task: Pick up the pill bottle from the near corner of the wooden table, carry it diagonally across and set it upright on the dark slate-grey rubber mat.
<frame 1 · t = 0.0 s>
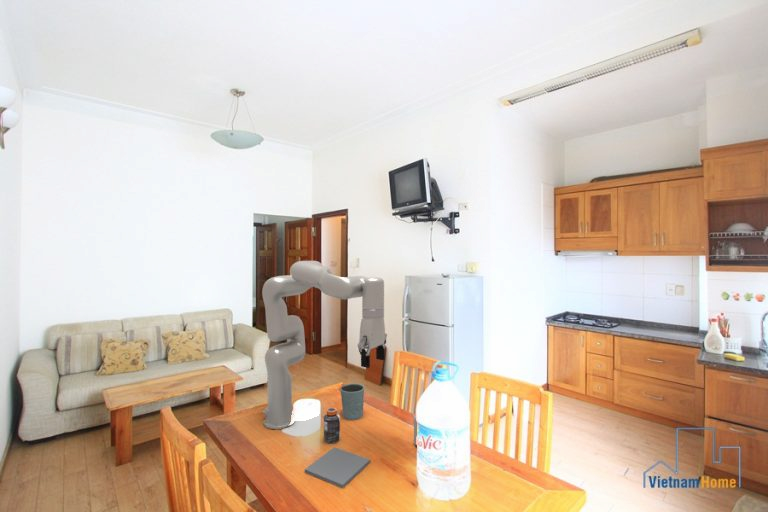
hand: (373, 363, 123), 31 cm above the table, fingers open, 9 cm apart
can: (424, 445, 128), on the table
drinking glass: (352, 415, 152), on the table
slate mat: (338, 467, 115), on the table
pill bottle: (332, 440, 132), on the table
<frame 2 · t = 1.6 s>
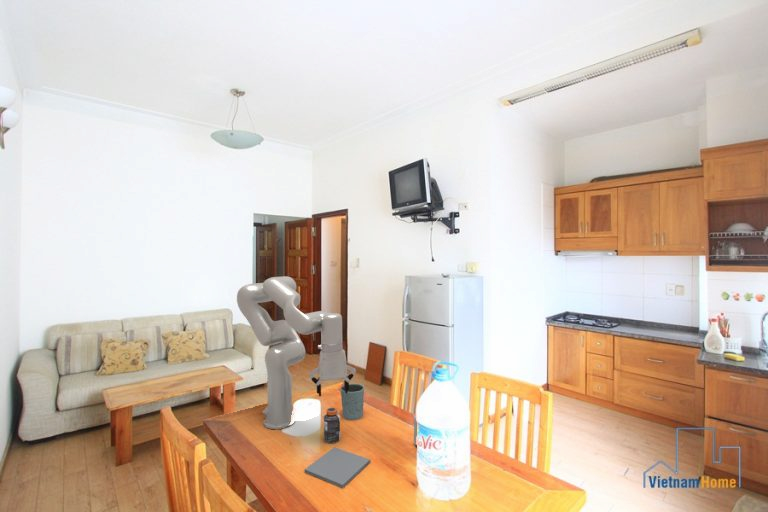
hand: (332, 393, 131), 17 cm above the table, fingers open, 9 cm apart
nothing on the table moved.
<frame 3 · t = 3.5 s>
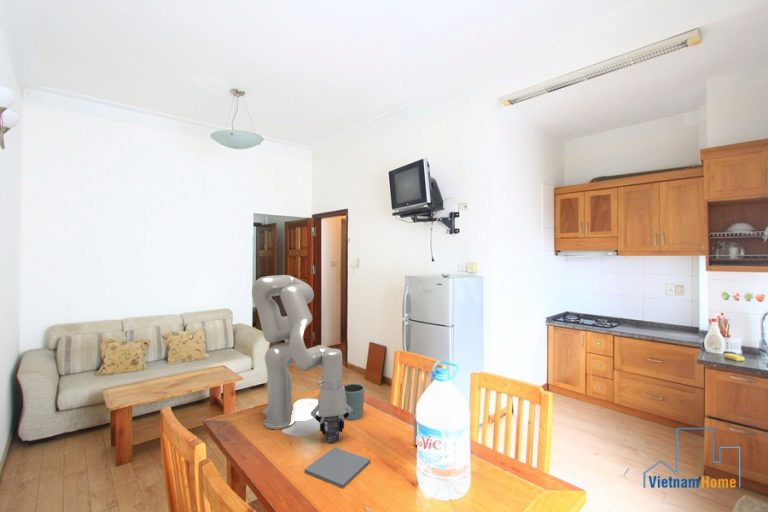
hand: (332, 431, 132), 3 cm above the table, fingers closed on pill bottle, 6 cm apart
pill bottle: (332, 440, 132), on the table, touching gripper
everything else where it was.
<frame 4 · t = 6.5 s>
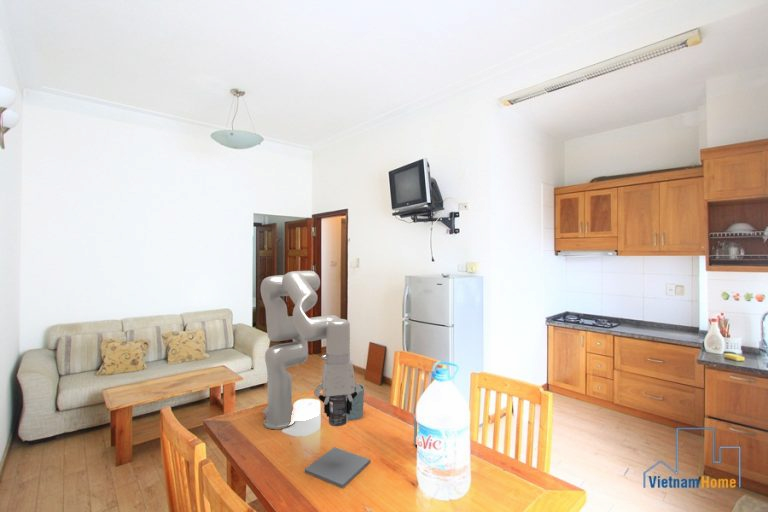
hand: (338, 413, 115), 17 cm above the table, fingers closed on pill bottle, 6 cm apart
pill bottle: (338, 423, 115), point 14 cm above the table, touching gripper
everything else where it was.
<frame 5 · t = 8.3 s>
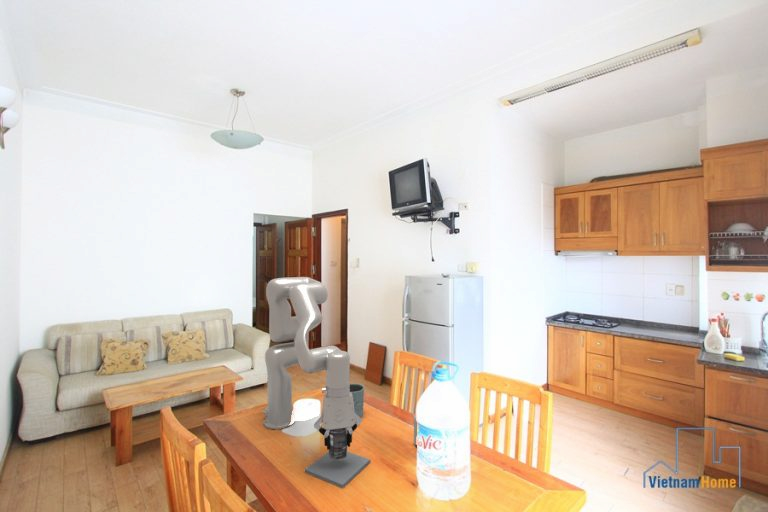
hand: (338, 445, 115), 7 cm above the table, fingers closed on pill bottle, 6 cm apart
pill bottle: (338, 455, 115), point 4 cm above the table, touching gripper
everything else where it was.
when the fingers open (5 cm above the table, at t = 9.6 s): pill bottle stays where it is, resting on slate mat.
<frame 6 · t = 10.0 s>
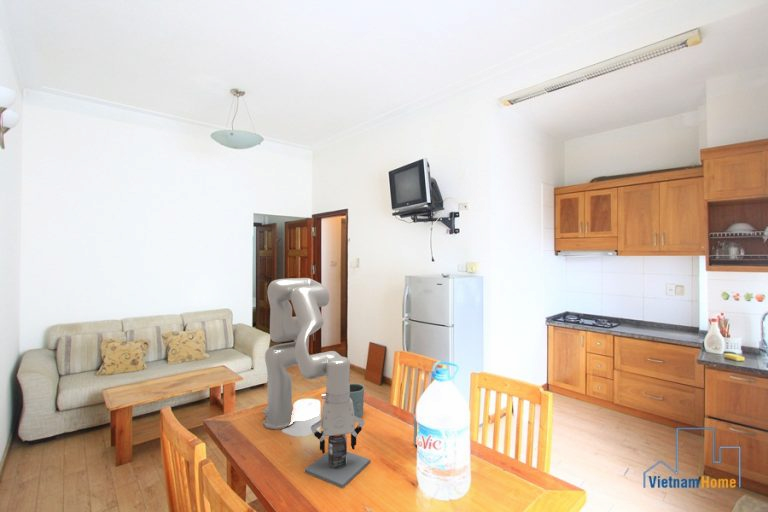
hand: (338, 449, 115), 6 cm above the table, fingers open, 9 cm apart
pill bottle: (337, 464, 115), point 1 cm above the table, touching slate mat
everything else where it was.
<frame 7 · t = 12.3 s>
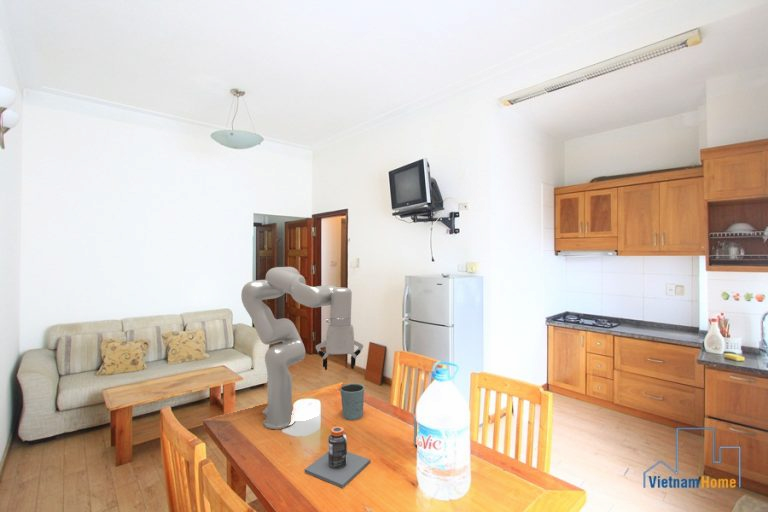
hand: (339, 368, 130), 27 cm above the table, fingers open, 9 cm apart
nothing on the table moved.
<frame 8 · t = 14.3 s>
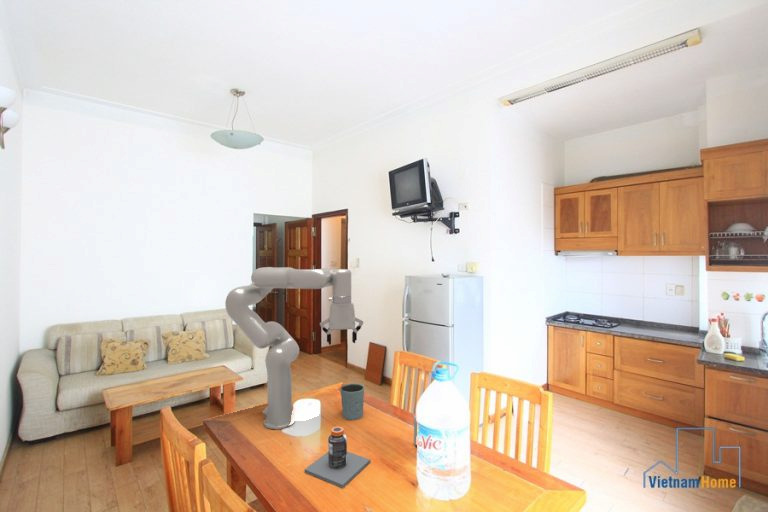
hand: (341, 343, 142), 33 cm above the table, fingers open, 9 cm apart
nothing on the table moved.
at the end: pill bottle inside the target area (0.2 cm from its centre), point 0.8 cm above the table; pill bottle tilted 0°; the gripper is holding nothing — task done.
